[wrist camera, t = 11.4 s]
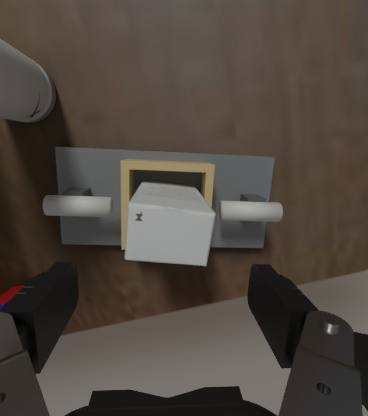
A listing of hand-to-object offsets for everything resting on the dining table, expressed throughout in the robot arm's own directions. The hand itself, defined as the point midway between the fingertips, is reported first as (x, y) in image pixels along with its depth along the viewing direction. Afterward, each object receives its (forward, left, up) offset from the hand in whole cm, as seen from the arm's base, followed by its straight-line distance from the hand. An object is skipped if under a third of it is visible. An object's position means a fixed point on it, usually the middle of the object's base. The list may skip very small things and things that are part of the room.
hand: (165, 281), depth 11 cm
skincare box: (0, 0, -18) cm, 18 cm away
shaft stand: (0, 0, -19) cm, 19 cm away
